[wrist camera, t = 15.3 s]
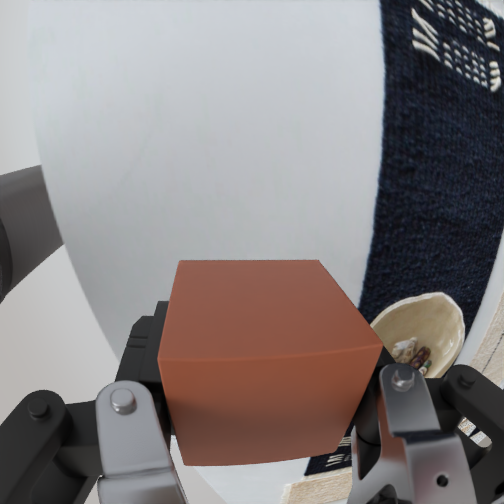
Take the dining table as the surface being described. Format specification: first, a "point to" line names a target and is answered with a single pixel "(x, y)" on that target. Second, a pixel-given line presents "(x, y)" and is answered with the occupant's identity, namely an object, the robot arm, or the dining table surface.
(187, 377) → the block
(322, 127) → the dining table surface
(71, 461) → the robot arm
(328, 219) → the dining table surface
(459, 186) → the dining table surface
